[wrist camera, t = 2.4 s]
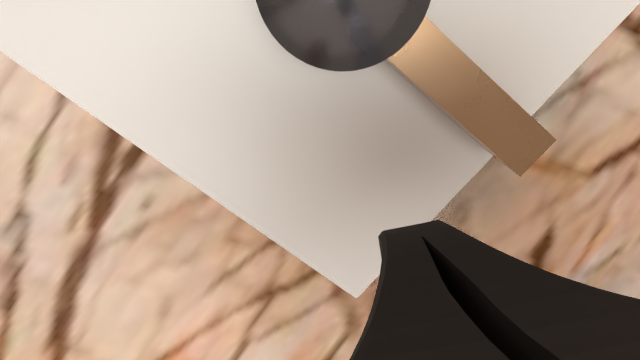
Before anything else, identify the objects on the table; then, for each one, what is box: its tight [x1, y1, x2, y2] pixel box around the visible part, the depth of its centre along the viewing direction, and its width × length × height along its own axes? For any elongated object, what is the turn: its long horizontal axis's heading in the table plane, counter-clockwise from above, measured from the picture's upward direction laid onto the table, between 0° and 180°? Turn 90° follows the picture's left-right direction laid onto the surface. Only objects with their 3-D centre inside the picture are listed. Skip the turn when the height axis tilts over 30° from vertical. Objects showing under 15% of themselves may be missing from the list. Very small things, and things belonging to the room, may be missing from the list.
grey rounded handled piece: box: [256, 0, 556, 176], centre depth 16 cm, size 11×5×4 cm, turn 50°
